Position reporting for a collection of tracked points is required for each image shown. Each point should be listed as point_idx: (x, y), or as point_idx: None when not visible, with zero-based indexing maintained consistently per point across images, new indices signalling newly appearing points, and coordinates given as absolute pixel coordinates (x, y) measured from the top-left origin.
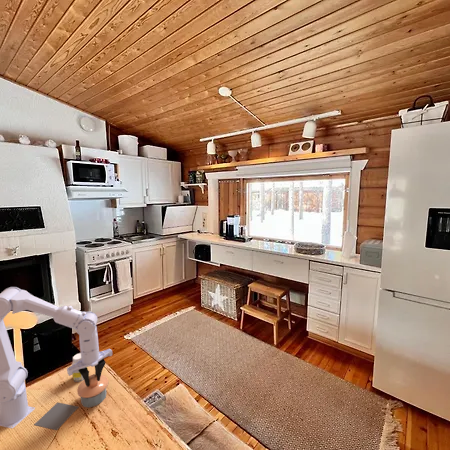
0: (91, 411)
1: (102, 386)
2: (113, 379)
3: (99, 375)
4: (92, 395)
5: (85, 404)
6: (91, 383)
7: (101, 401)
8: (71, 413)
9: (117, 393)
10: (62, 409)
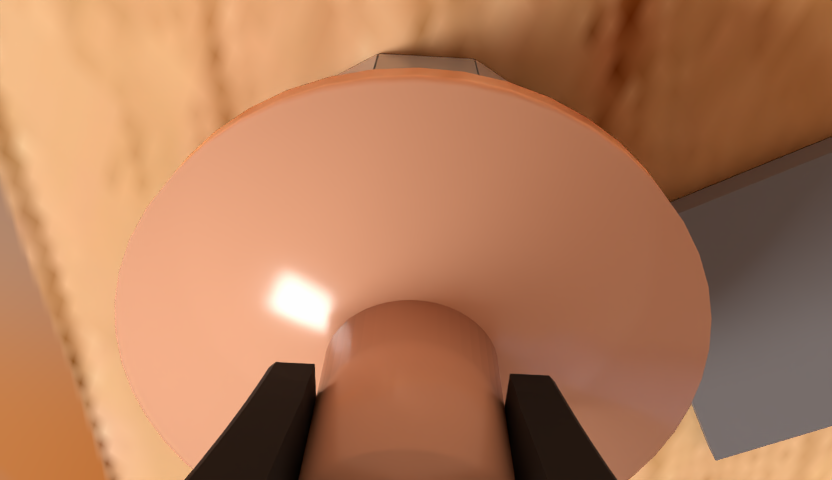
0: (552, 28)
1: (288, 184)
2: (97, 338)
3: (242, 466)
4: (562, 114)
5: None
6: (475, 392)
7: (378, 64)
8: (746, 199)
9: (117, 53)
10: (757, 338)
